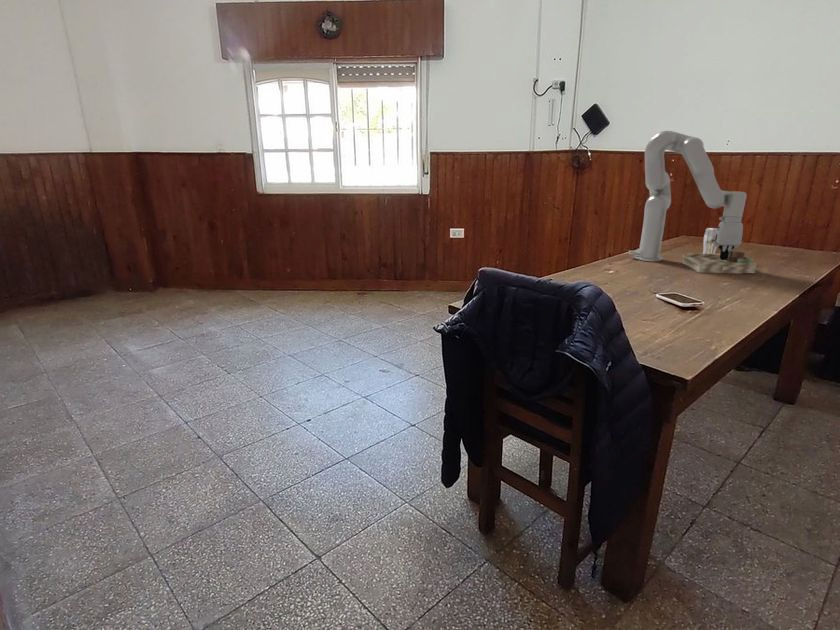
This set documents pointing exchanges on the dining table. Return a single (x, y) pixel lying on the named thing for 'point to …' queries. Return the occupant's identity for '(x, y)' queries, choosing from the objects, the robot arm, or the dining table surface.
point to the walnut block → (735, 256)
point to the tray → (717, 264)
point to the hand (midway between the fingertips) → (723, 259)
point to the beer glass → (709, 241)
